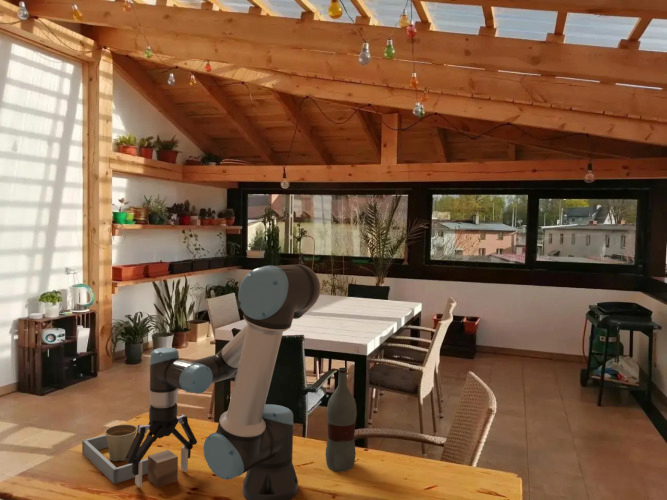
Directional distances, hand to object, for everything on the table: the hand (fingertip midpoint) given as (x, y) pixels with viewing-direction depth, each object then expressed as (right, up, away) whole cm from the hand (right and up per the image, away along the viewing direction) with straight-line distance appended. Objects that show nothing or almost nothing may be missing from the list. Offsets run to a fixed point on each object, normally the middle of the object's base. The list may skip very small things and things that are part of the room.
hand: (162, 477), depth 145 cm
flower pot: (-17, 0, +13) cm, 22 cm away
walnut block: (0, -1, 0) cm, 1 cm away
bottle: (+51, -2, +12) cm, 52 cm away
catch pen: (-16, 0, +12) cm, 20 cm away
